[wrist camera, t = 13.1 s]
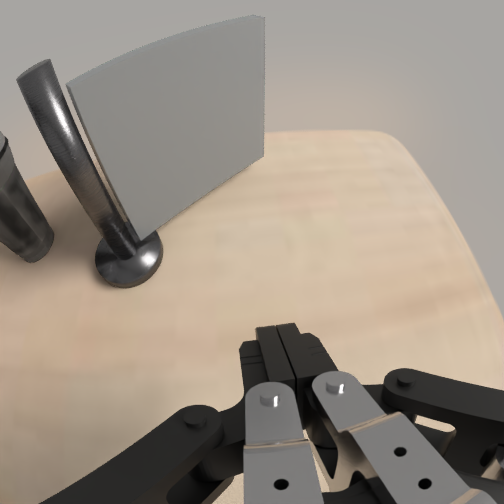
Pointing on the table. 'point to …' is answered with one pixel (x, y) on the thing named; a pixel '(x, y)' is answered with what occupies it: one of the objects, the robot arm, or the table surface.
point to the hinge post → (88, 183)
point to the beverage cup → (20, 212)
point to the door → (176, 117)
